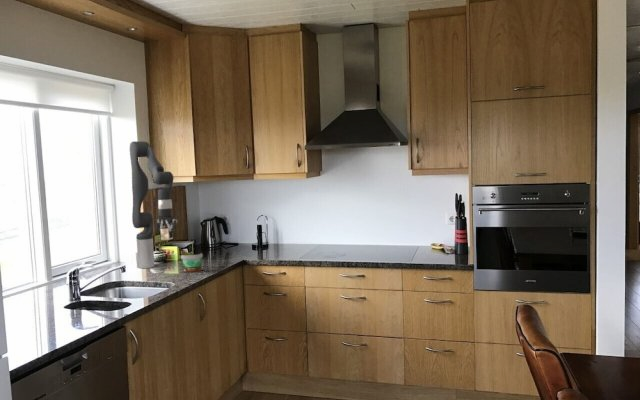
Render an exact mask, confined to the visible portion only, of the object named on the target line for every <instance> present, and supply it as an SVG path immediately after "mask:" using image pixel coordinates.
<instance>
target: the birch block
mask: <svg viewBox="0 0 640 400" xmlns="http://www.w3.org/2000/svg"><path fill="white" fill-rule="evenodd" d="M169 232H170V231H169V228H168V227H164V229H161V236H160V238H161V241H170V240H173V238H174V236H173V237H172V238H170V236H169Z"/></svg>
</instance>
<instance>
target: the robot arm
mask: <svg viewBox="0 0 640 400" xmlns="http://www.w3.org/2000/svg"><path fill="white" fill-rule="evenodd" d="M129 156H130V157H129V159H130V165H131V167H130V168H131V189H132V190H131V192H132V214H131V215H132V216H131V217H132V218H131V219H132V226H133V227H134V228H135V229H143V230H142V231H140V232H139V233H137V234H136V250H137V251H136V252H135V256H136V257H135V261H136V268H137V269H150V268H153V267H155V253H154V238H153V236H154V224H155V228H156V230H157V231H159V233H160V234H159V235H160V237H161V229H164V228H169V231H170V232H169V236H170V238H172V237H173V238H174V231H176V230H177V227H178V222H179V219H175V218H174V217H173V202H172V188H173V183H174V175H173V173H172V172H171V171H165V170H164V169H165V168H164V167H163V165H162V163H160V161H159V160H158V159H157V157H156V155H155V152H154V151H153V148H152V146H151V144H150V143H149V142H148V141H142V140H141V141H131V142H130V144H129ZM139 158H146V159H147V161H146V167H147V170H149V172H150V173H151V175H152V178H153V183H155V184H156V185H158V186H160V185H164V187H163V188H160V189H158V190H157V211H158V219H154V217H153V215H152V213H151V211H142V205H143V203H144V200H145V198H146V197H147V195H148V193H149V177H148V176H147V174H146V173H145V171H144V170H143V168H142V167H141V165H140V162H139ZM141 211H142V212H141Z"/></svg>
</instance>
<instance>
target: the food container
mask: <svg viewBox="0 0 640 400" xmlns="http://www.w3.org/2000/svg"><path fill="white" fill-rule="evenodd" d="M203 257H204V255H203V253H202V252H201V253H199V254H189V255H183V254H181V255H180V259H181V260H182V267H183V272H184V273H187V274H193V273H194V272H195V273H199V272H201V271H202V259H203Z"/></svg>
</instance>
